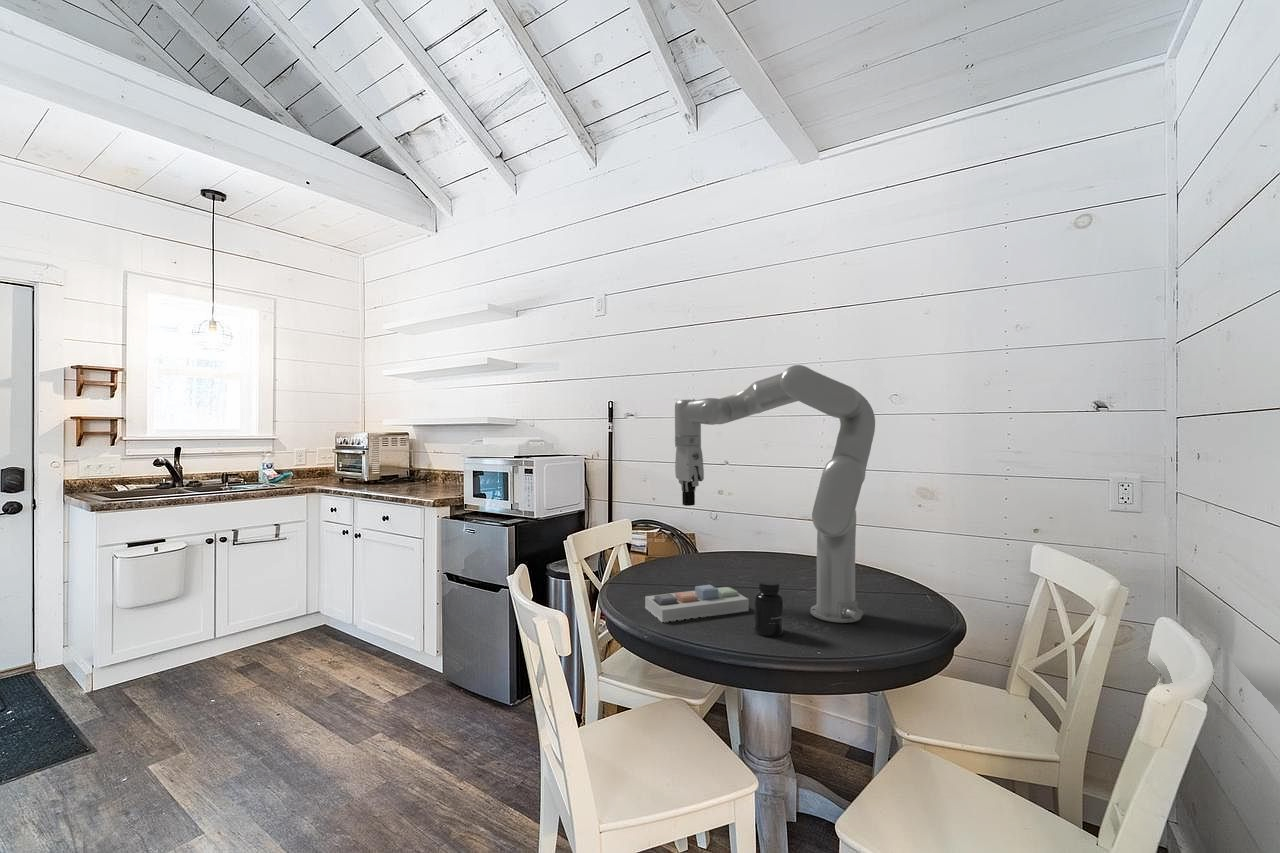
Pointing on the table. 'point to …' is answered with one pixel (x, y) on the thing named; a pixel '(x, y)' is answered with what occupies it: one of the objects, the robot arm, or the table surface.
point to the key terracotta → (686, 597)
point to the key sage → (727, 592)
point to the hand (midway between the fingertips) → (688, 505)
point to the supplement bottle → (768, 609)
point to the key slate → (706, 592)
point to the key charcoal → (665, 599)
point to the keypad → (696, 607)
